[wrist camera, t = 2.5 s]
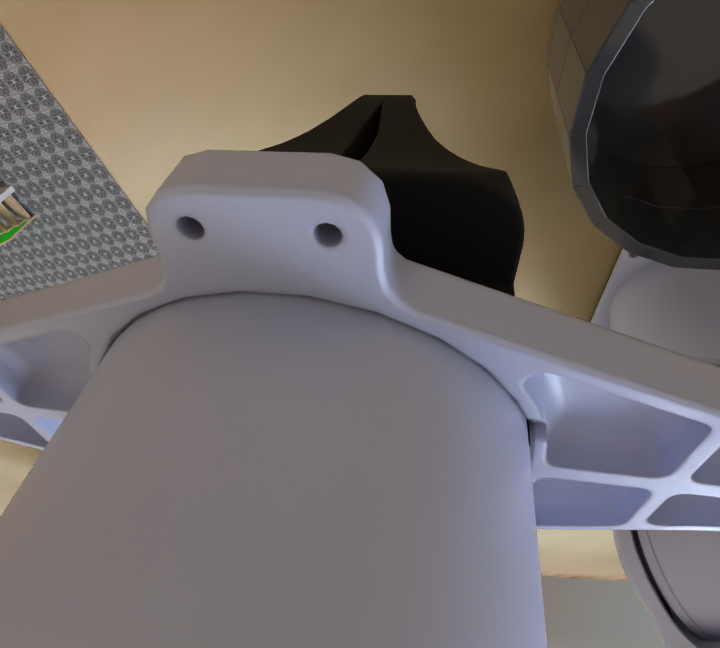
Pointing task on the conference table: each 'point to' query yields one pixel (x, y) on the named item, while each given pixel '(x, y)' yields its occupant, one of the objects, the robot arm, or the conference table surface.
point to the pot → (642, 122)
